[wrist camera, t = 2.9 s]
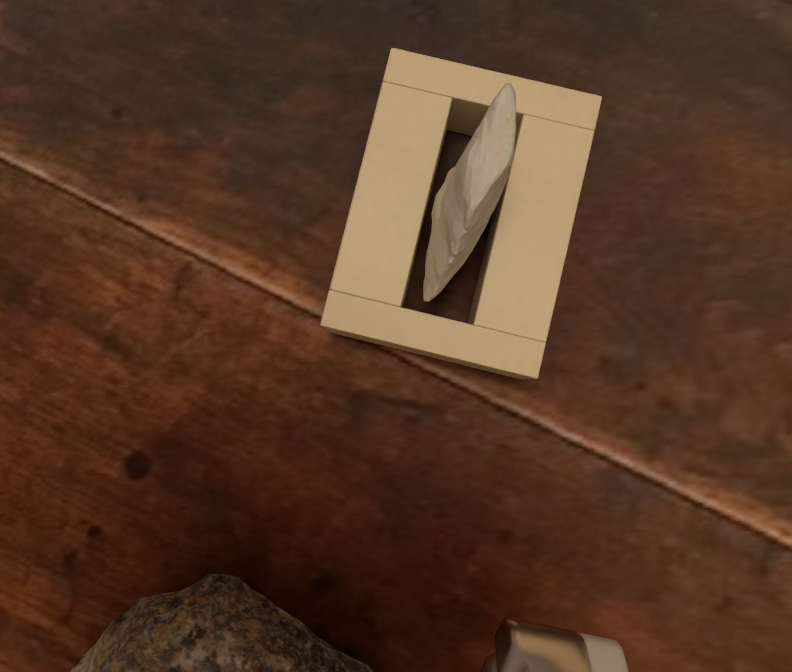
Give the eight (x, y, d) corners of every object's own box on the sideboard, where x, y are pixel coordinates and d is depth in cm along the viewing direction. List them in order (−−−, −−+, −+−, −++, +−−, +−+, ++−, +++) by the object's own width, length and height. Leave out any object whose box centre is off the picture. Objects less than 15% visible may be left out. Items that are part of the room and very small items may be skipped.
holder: (329, 332, 29) (319, 325, 26) (392, 86, 30) (391, 46, 26) (521, 379, 29) (538, 379, 25) (579, 129, 30) (602, 96, 26)
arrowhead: (448, 320, 29) (473, 288, 19) (400, 303, 29) (400, 261, 19) (509, 158, 30) (564, 44, 20) (462, 141, 30) (493, 18, 20)
